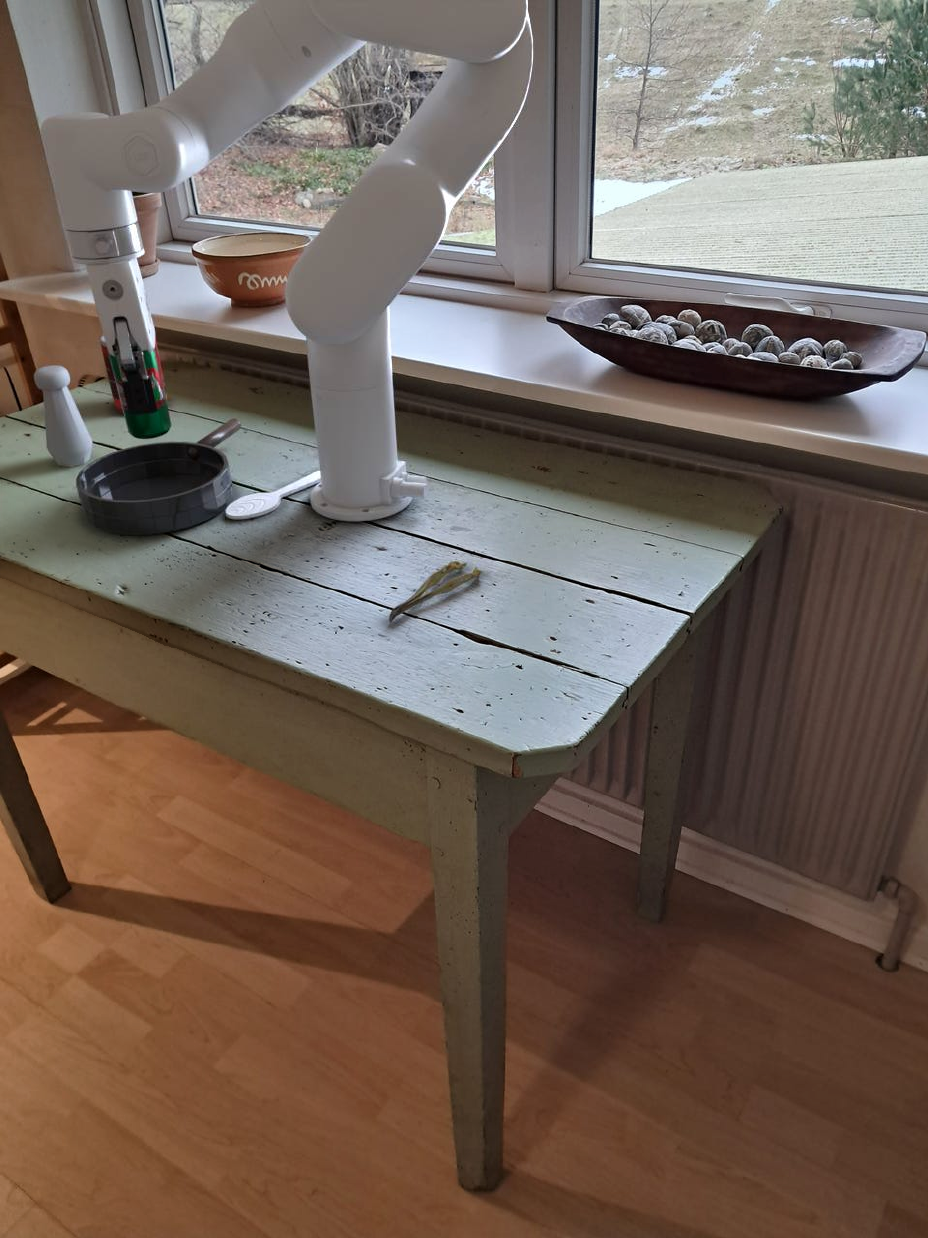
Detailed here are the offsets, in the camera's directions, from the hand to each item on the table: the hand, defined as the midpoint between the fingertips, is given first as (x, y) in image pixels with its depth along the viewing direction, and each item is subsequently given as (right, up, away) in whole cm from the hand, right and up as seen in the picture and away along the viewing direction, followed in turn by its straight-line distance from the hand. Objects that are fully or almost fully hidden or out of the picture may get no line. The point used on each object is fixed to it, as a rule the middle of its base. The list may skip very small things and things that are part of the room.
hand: (144, 403), depth 113 cm
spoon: (+15, -10, +9) cm, 20 cm away
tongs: (+35, -23, -13) cm, 44 cm away
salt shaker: (-16, -4, +19) cm, 25 cm away
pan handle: (+4, -2, +17) cm, 17 cm away
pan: (0, -11, +7) cm, 13 cm away
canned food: (-12, +8, +37) cm, 40 cm away
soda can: (0, -3, +2) cm, 4 cm away
